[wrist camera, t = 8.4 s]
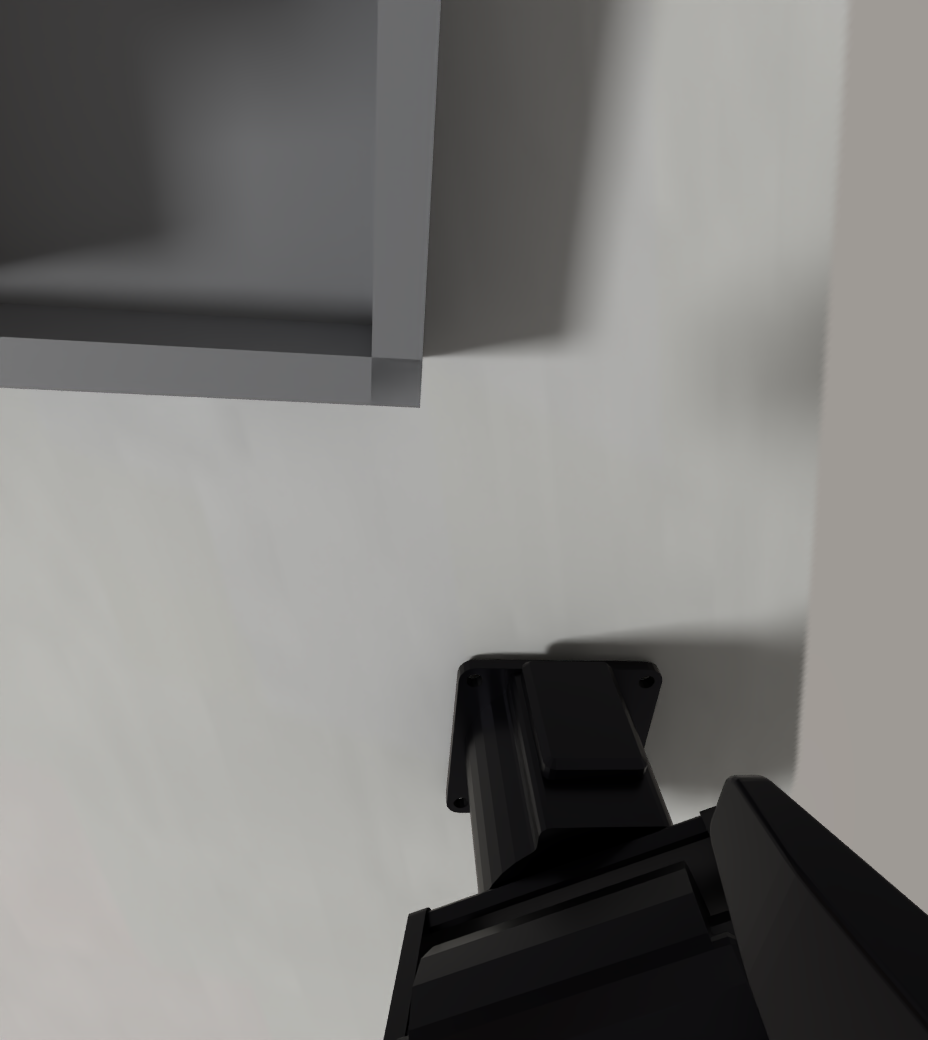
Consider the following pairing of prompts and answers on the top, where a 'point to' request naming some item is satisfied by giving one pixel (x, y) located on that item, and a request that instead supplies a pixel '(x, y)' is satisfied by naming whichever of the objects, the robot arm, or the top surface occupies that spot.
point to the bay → (217, 197)
